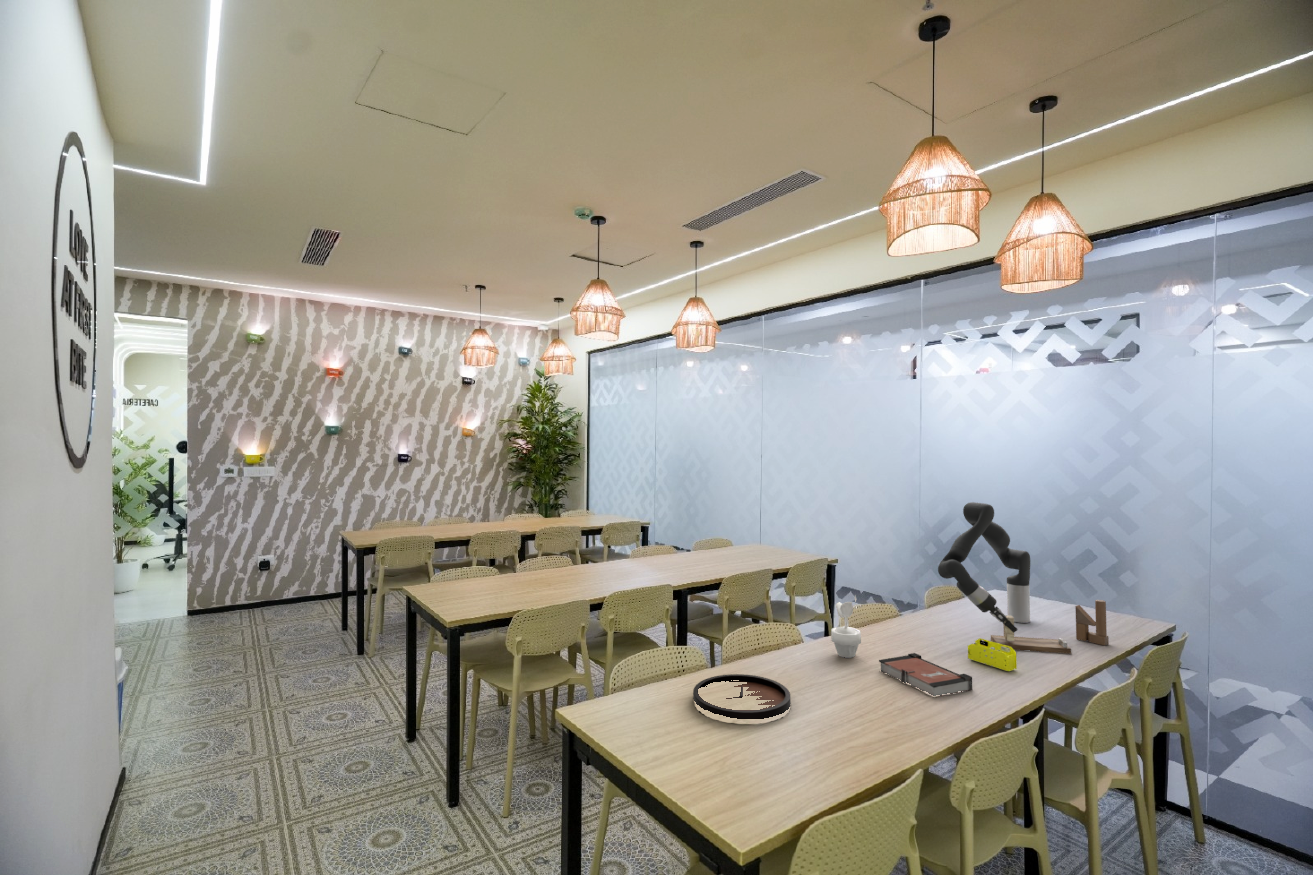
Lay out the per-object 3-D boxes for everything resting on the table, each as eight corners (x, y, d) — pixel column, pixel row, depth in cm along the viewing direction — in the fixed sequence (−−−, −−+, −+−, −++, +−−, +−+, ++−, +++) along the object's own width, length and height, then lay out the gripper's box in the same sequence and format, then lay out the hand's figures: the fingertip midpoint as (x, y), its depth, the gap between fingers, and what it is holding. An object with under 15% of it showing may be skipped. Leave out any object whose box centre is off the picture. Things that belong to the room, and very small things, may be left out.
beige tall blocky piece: (1002, 635, 255) (1001, 614, 255) (1010, 636, 254) (1009, 614, 254) (1006, 640, 248) (1006, 618, 249) (1015, 641, 248) (1014, 618, 248)
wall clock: (759, 722, 176) (673, 695, 196) (759, 736, 176) (674, 707, 196) (807, 688, 200) (726, 667, 220) (807, 700, 200) (726, 678, 220)
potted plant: (865, 660, 236) (864, 596, 237) (835, 660, 236) (834, 596, 237) (855, 649, 249) (854, 588, 249) (827, 650, 249) (826, 588, 250)
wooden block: (1079, 637, 261) (1078, 595, 261) (1109, 644, 252) (1107, 600, 252) (1075, 639, 259) (1074, 597, 259) (1105, 646, 250) (1104, 602, 250)
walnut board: (990, 639, 260) (990, 630, 260) (1060, 644, 253) (1060, 634, 253) (998, 648, 248) (998, 638, 248) (1071, 653, 241) (1071, 643, 241)
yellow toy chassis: (1017, 671, 224) (1017, 648, 224) (1008, 673, 221) (1007, 650, 222) (976, 658, 238) (976, 636, 238) (967, 660, 235) (967, 639, 236)
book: (877, 672, 225) (877, 658, 225) (914, 666, 231) (914, 653, 231) (932, 699, 200) (932, 684, 201) (972, 691, 207) (972, 676, 207)
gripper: (992, 596, 246) (1026, 628, 243) (983, 588, 260) (1016, 618, 257) (978, 608, 248) (1012, 640, 244) (970, 600, 261) (1002, 630, 258)
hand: (1014, 629), depth 250 cm, fingers closed on beige tall blocky piece, 3 cm apart
